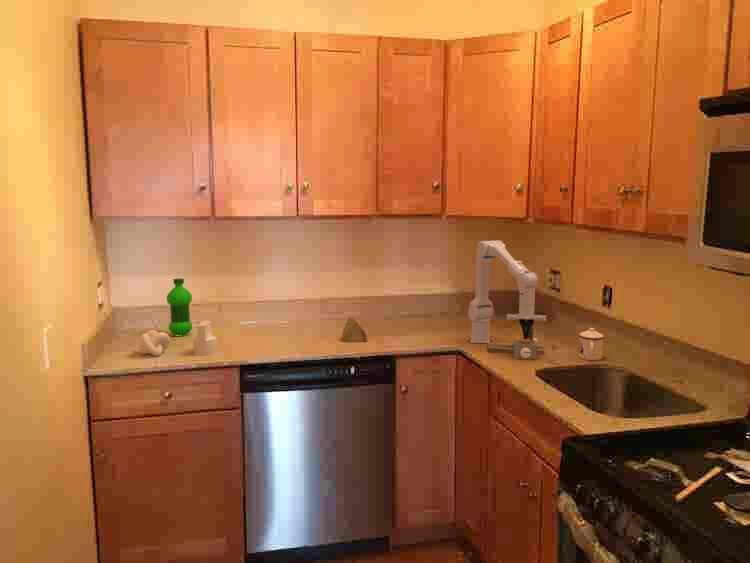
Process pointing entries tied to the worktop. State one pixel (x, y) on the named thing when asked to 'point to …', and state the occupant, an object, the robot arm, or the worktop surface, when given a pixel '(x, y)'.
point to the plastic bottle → (179, 308)
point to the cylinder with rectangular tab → (205, 340)
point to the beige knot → (153, 343)
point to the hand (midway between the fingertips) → (525, 338)
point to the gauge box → (525, 350)
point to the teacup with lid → (591, 345)
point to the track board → (510, 349)
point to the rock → (353, 332)
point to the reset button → (525, 340)
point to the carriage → (532, 336)
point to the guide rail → (506, 345)
